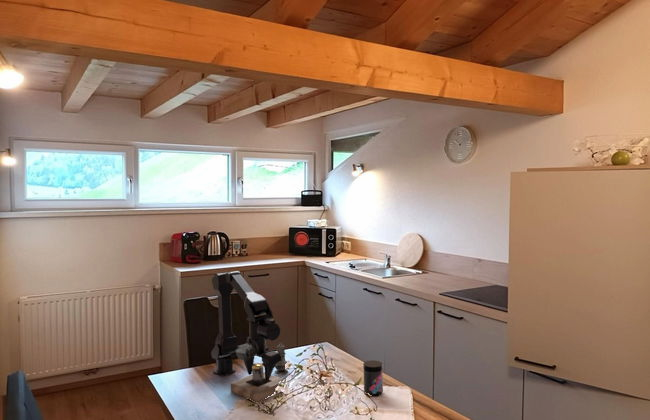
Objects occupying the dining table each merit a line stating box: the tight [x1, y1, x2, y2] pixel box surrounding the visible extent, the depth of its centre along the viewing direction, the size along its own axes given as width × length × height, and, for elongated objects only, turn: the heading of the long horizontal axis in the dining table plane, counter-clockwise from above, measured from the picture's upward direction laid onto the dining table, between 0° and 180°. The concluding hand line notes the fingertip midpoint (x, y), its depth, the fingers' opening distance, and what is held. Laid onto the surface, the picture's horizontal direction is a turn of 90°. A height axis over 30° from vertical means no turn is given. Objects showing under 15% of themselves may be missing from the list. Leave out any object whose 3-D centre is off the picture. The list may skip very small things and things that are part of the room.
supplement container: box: [363, 359, 384, 397], centre depth 168 cm, size 7×7×10 cm
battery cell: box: [251, 362, 265, 387], centre depth 171 cm, size 4×4×9 cm
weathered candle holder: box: [274, 342, 289, 376], centre depth 189 cm, size 6×6×12 cm
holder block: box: [230, 372, 283, 403], centre depth 171 cm, size 14×14×4 cm
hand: (258, 377), depth 171 cm, fingers open, 9 cm apart
